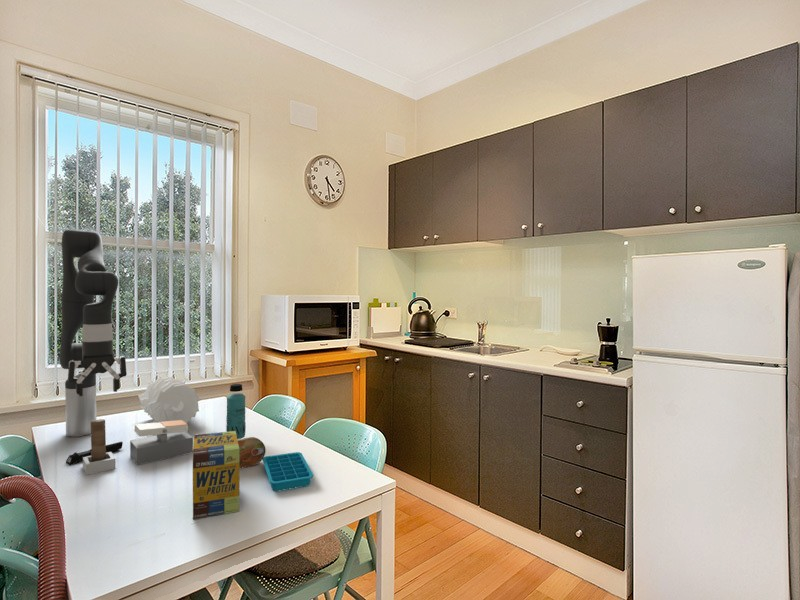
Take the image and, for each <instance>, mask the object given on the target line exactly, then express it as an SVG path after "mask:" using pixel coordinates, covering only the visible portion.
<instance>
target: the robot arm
mask: <svg viewBox="0 0 800 600" xmlns="http://www.w3.org/2000/svg"><path fill="white" fill-rule="evenodd" d="M61 254H62V255H61V256H62V290H61V291H62V292H61V293H62V294H61V336H60V337H61V339H60V347H59V349H60V350H59V363H60V364H59V365H60V367H61V368H62V369H64V370H68V372H67V373H68V374H67V376H68V377H67V379H66V380H65V382H64V386H65V387H64V389H65V391H64V392H65V395H64V397H65V435H66V437H82V436H88V435H91V421H94V420H97V375H96V374H105V373H107V372H108V373H109V374H110V375H111V376H112V377H113V379H112V388H113V389H112V390H113V392H114V393H116V392H118V390H119V389H120V388H121V387H120V384H121V383H120V379H121V378H124V377H126V376H127V362H126V357H124V356H123V355H120V356H118V357H115V356H114V347H113V344H114V342H113V341H114V333H113V331H114V330H113V325H112V323H113V322H112V312H113V311H112V310H113V303H114V299H115V296H116V294H117V292H118V291H117V290H118V287H119V279H118V276H117V275H116V274H115V273H114V272H111V271H107V267H106V265H105V262H104V246H103V238H102V236H101V235H100V234H99V233H98V232H97V231H93V230H92V231H91V230H80V229H79V230H78V229H65V230H64V231H63V232H62V237H61ZM75 258H78V262H77V265H76V263H75V261H74V259H75ZM95 296H103V298H102V299H101V300H100V301H97V302H95ZM81 328H82V330H81V342H74V339H75V337H76V334H77V333H78V331H79V330H80V329H81ZM73 342H74V343H73ZM115 362H116V363H117V365H119V370H120V372H116V371H115V369H113V368H112V366H113V365H114V364H115ZM76 369H82V371H81V372H80V373H79V374H77V375H75V370H76Z"/></svg>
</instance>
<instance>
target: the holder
mask: <svg viewBox="0 0 800 600" xmlns="http://www.w3.org/2000/svg"><path fill="white" fill-rule="evenodd" d="M82 468H83V471H84V474H85V475H86V476H87V475H92V474H93V475H94V474H96V473H97V474H98V473H101V472H105V471H110V470H113V469H116V457H115V456H114V454H113V452H107V453H106V459H105V460H100V461H95V462H92V459H91V456H87V457H83V461H82Z"/></svg>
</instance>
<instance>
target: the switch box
mask: <svg viewBox="0 0 800 600" xmlns="http://www.w3.org/2000/svg"><path fill="white" fill-rule="evenodd" d="M129 443H130V445H129V446H130V447H129V448H130V449H129V450H130V453H129V455H130V457H131V459H132V460H133V462H134V463H135V464H136V465H137V466H139V465H144V464H149V463H153V462H158V461H161V460H165V459H166V458H167V459H171V458H174V457H179V456H184V455H188V454H193V443H194V436H192V435H191V434H189V433H188V431H187V432H177V433H168V434H158V435H149V436H143V437H140V438H135V439H130V440H129Z"/></svg>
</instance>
